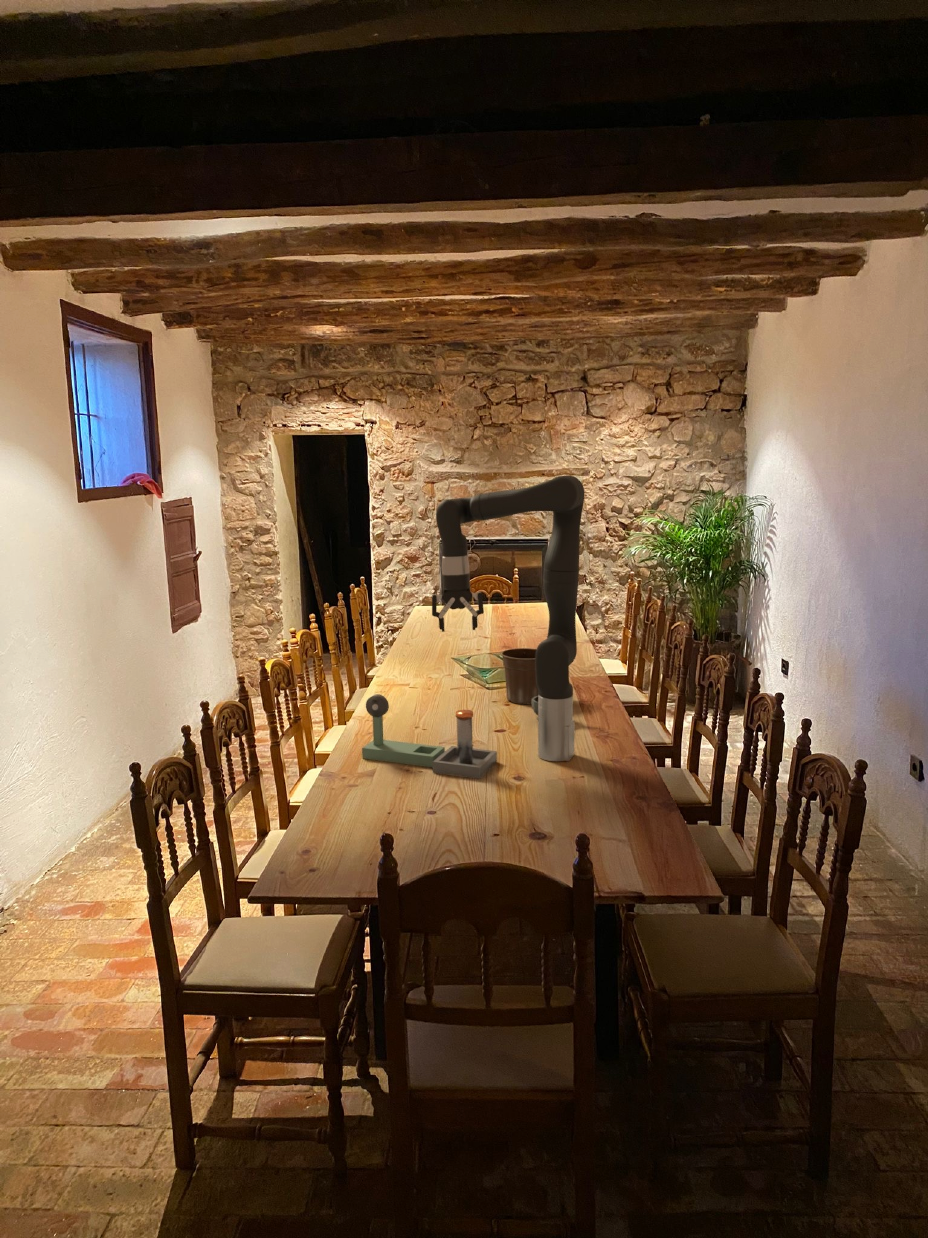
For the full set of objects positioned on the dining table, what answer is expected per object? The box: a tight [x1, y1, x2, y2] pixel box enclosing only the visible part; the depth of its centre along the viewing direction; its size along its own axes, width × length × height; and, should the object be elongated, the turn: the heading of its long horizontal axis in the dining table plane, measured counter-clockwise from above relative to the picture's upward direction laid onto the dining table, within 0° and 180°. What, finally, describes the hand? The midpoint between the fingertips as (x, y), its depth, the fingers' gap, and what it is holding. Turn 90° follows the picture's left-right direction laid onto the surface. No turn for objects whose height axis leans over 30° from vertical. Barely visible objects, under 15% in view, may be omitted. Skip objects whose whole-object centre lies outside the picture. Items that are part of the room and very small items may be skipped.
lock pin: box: [455, 709, 474, 765], centre depth 222 cm, size 5×5×14 cm
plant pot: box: [500, 647, 539, 705], centre depth 284 cm, size 16×16×16 cm
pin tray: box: [432, 745, 498, 780], centre depth 223 cm, size 13×13×3 cm
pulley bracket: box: [361, 693, 446, 768], centre depth 230 cm, size 21×8×17 cm, turn 69°
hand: (458, 630), depth 235 cm, fingers open, 8 cm apart
